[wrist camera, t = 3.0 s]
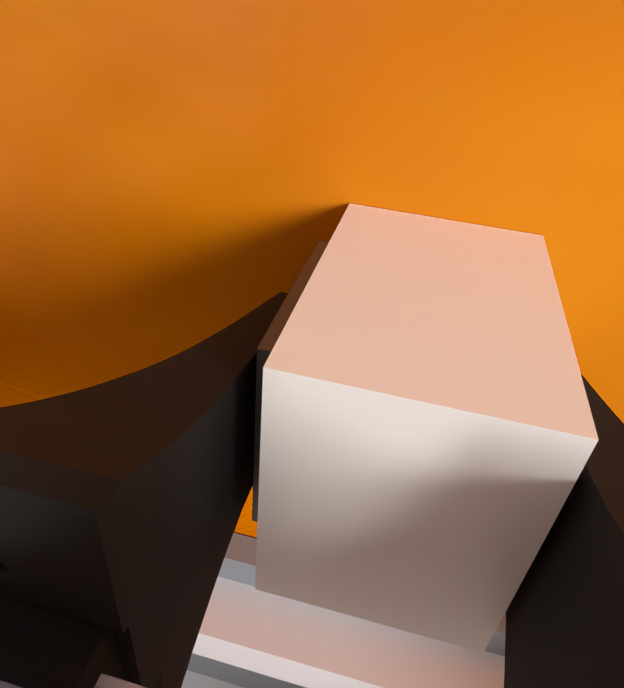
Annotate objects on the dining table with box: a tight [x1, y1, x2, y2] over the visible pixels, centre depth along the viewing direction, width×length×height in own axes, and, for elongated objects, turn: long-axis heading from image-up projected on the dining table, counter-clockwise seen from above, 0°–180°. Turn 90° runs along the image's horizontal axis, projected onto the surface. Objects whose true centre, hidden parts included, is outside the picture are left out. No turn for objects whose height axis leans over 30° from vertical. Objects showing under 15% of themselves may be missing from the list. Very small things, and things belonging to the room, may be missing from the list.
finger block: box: [252, 203, 599, 653], centre depth 10 cm, size 4×5×6 cm
